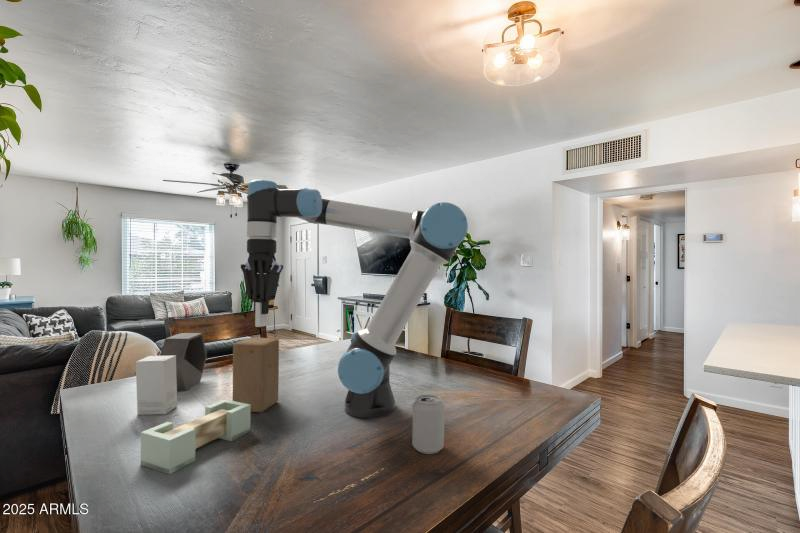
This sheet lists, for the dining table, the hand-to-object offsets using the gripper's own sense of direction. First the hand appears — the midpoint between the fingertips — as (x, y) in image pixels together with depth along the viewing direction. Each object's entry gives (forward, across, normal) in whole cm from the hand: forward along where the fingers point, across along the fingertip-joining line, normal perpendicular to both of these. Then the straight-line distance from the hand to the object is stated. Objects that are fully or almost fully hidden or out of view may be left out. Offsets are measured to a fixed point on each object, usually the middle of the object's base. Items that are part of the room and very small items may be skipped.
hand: (261, 326), depth 103 cm
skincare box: (+27, +33, +6) cm, 43 cm away
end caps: (+26, +3, +16) cm, 31 cm away
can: (+27, -46, -6) cm, 53 cm away
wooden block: (+27, +10, -9) cm, 30 cm away
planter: (+27, +47, -13) cm, 56 cm away
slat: (+25, +3, +16) cm, 30 cm away
